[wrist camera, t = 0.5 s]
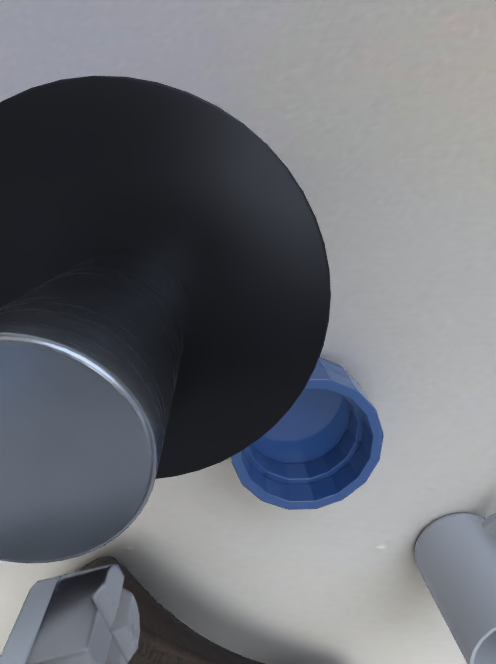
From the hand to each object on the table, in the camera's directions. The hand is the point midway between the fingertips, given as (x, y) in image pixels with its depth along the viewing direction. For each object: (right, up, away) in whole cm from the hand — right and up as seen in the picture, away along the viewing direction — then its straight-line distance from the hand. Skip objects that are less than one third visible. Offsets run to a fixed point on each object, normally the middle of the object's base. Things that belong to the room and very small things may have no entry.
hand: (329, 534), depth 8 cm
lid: (-5, +5, +3) cm, 7 cm away
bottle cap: (+2, -2, +23) cm, 23 cm away
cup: (+16, -13, +28) cm, 35 cm away
